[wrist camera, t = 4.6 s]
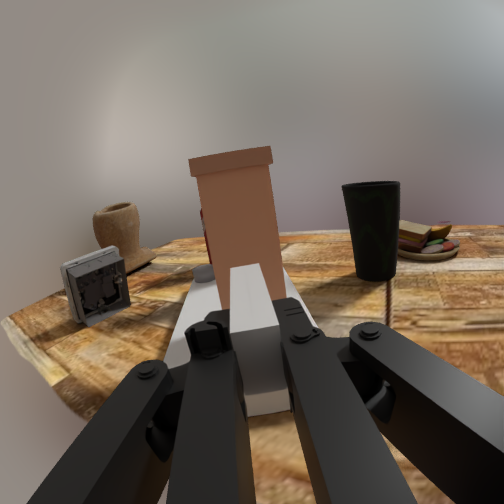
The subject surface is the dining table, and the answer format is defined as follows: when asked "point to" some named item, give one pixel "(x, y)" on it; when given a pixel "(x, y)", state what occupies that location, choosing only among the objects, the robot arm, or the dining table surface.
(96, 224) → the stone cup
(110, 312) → the electrical switch
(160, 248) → the dining table surface
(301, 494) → the dining table surface
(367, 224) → the cup
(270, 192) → the orange capped block
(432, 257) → the toy sandwich meal
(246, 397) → the panel
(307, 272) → the dining table surface
